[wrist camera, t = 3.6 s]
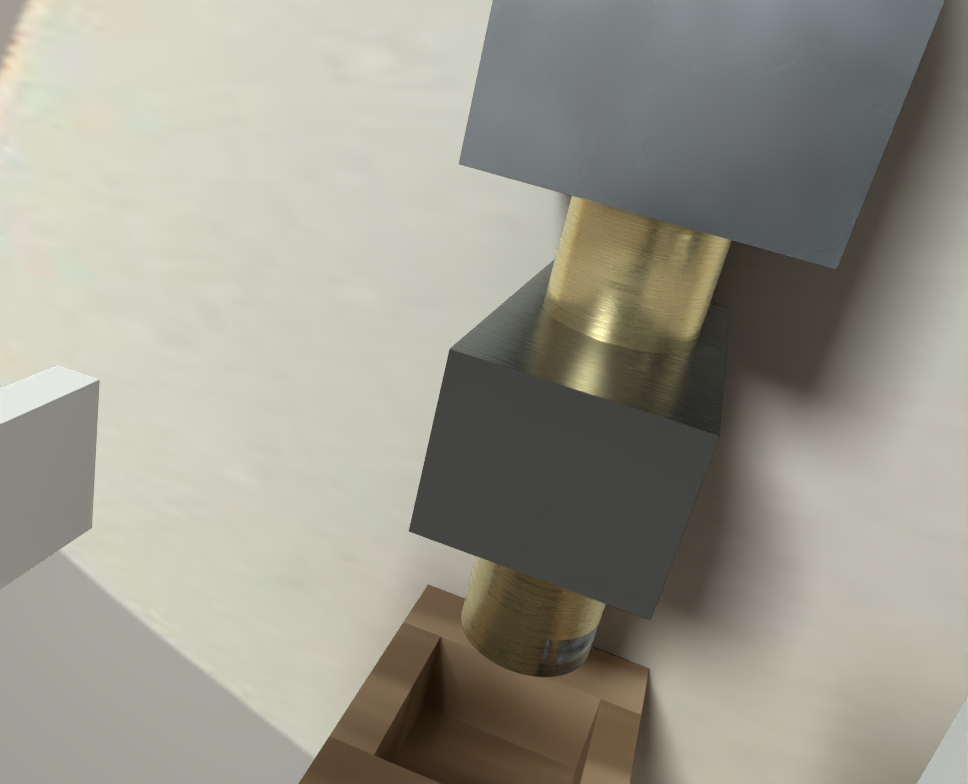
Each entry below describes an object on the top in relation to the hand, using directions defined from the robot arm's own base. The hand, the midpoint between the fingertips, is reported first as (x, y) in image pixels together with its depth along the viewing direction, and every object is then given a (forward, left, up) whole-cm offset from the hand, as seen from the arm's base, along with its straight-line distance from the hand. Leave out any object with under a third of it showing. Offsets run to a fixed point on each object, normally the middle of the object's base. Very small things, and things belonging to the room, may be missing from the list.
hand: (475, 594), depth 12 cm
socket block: (+12, 0, -14) cm, 19 cm away
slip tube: (-3, 0, -13) cm, 14 cm away
